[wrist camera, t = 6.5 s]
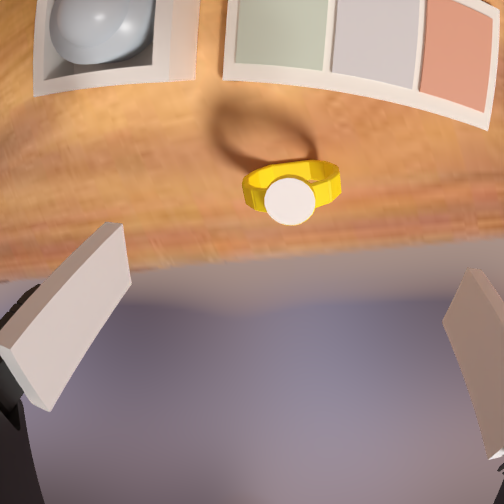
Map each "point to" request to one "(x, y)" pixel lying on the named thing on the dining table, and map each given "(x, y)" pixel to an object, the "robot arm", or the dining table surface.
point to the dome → (101, 29)
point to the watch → (292, 189)
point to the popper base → (129, 71)
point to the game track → (372, 50)
